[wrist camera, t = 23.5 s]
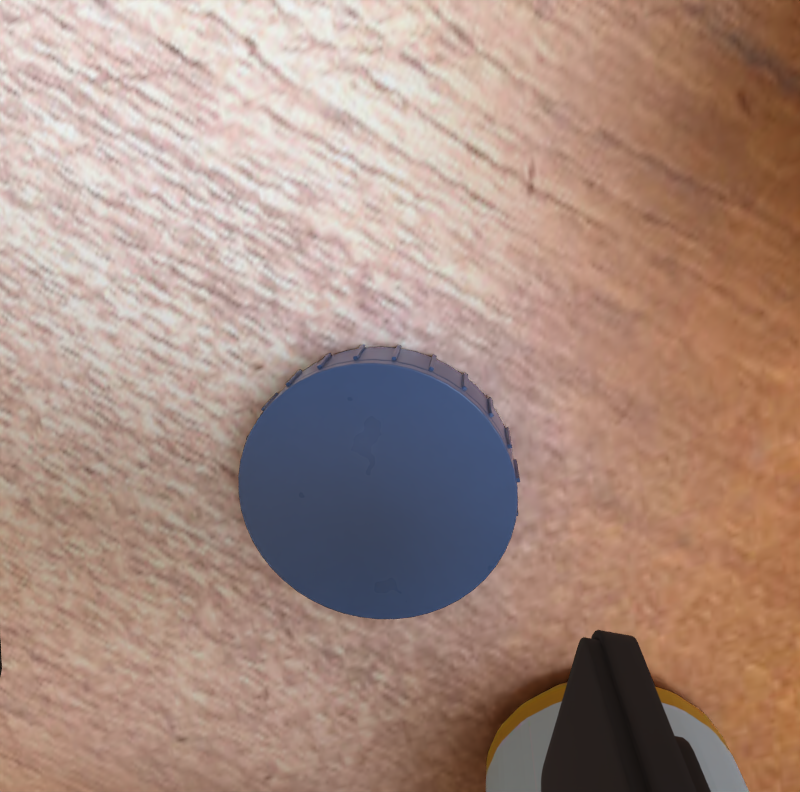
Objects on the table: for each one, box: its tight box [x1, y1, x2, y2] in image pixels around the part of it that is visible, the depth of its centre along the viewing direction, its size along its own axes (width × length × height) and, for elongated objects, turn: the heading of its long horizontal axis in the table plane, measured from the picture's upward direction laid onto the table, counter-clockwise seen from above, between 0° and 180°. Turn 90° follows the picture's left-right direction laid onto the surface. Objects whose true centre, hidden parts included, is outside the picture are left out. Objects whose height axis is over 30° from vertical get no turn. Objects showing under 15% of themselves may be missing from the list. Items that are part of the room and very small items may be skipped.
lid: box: [238, 345, 520, 619], centre depth 17 cm, size 7×7×2 cm
